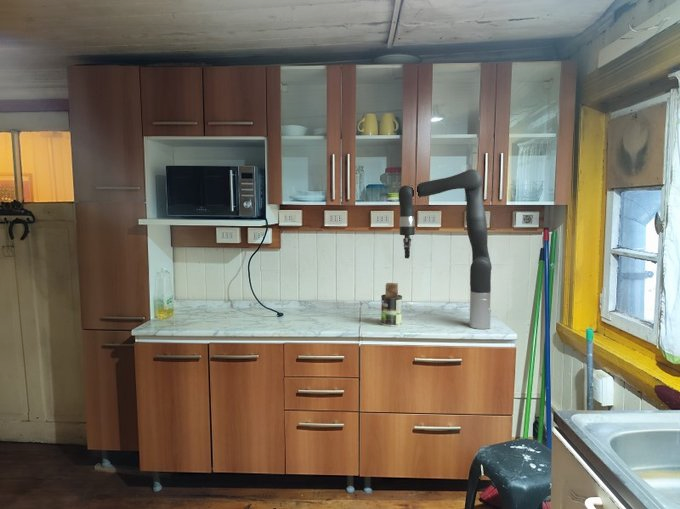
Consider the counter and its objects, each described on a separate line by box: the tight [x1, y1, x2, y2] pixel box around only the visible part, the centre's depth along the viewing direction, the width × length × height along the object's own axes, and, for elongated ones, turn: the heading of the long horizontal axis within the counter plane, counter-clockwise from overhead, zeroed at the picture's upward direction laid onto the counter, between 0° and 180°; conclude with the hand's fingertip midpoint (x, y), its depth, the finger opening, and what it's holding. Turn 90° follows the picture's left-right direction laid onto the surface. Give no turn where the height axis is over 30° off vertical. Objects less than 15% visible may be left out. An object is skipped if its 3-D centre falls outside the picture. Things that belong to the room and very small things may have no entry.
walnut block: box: [385, 282, 399, 297], centre depth 208 cm, size 6×6×6 cm
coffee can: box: [380, 293, 403, 327], centre depth 209 cm, size 10×10×14 cm
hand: (407, 257), depth 215 cm, fingers open, 8 cm apart
